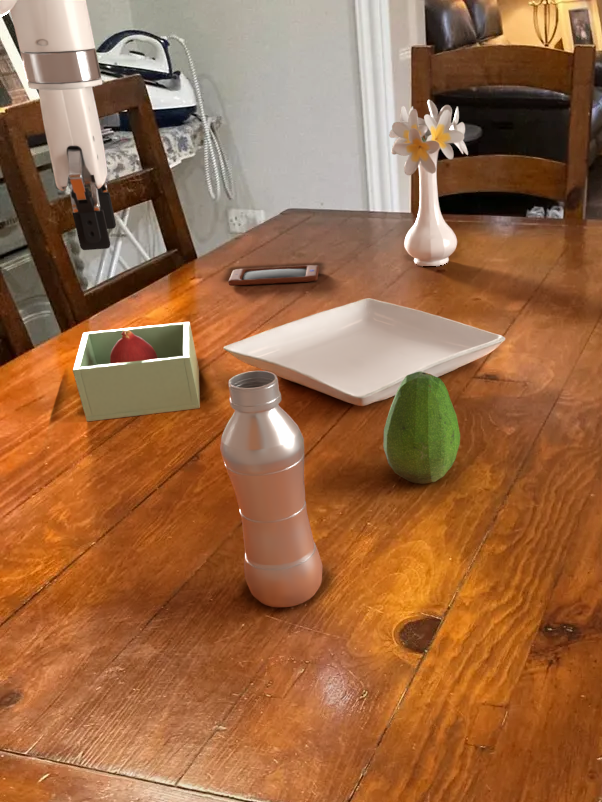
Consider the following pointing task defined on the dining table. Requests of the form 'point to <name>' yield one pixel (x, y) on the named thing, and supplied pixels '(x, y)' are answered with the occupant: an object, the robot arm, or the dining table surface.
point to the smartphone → (274, 275)
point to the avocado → (421, 429)
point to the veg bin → (138, 373)
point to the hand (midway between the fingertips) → (99, 238)
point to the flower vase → (428, 178)
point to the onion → (131, 349)
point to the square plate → (364, 349)
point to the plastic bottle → (270, 492)
